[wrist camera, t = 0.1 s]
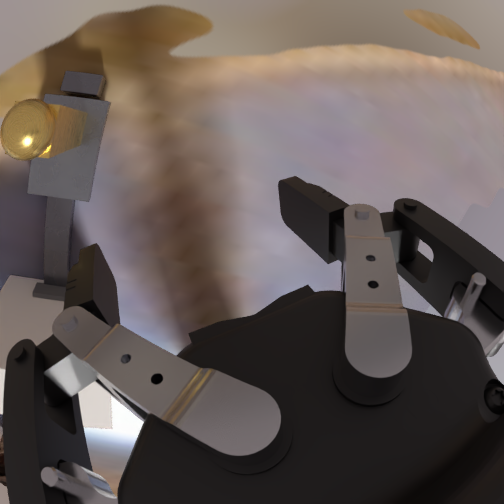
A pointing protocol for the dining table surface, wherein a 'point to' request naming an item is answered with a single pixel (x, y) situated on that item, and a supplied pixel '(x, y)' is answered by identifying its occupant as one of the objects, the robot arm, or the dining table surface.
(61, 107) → the gold sphere topped award
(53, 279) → the rail
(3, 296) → the cabinet
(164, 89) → the dining table surface
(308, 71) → the dining table surface
